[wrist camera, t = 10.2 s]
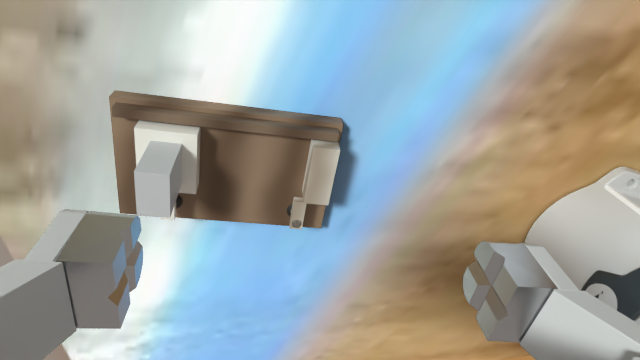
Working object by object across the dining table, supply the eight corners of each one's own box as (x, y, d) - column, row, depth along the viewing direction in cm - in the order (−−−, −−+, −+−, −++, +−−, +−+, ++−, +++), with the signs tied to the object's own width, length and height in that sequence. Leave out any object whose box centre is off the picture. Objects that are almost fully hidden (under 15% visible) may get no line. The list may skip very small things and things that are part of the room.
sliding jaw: (200, 124, 37) (187, 164, 31) (198, 208, 41) (186, 257, 35) (140, 117, 36) (114, 157, 30) (144, 204, 40) (123, 253, 34)
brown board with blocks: (341, 118, 39) (347, 135, 36) (319, 219, 46) (323, 241, 42) (114, 90, 36) (100, 107, 33) (124, 204, 42) (112, 227, 39)
